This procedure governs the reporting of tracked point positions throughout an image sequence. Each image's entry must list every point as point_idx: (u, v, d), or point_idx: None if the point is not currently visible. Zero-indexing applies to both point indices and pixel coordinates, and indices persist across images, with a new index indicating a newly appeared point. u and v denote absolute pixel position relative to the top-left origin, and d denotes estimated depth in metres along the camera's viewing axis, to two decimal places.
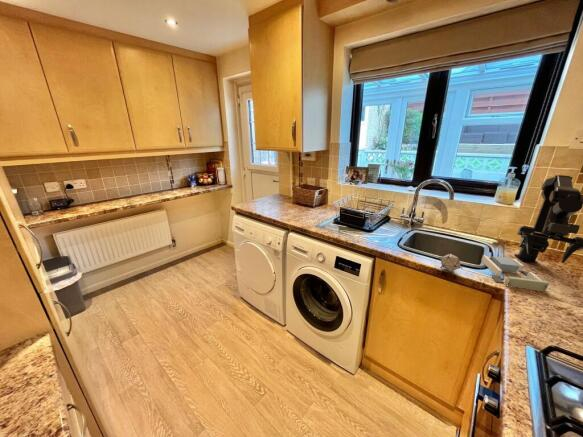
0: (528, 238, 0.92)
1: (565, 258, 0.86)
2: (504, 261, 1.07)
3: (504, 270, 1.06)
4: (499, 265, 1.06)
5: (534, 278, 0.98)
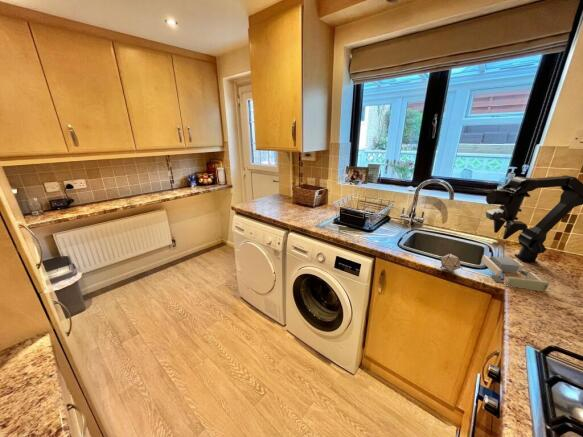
0: (493, 220, 1.16)
1: (503, 236, 1.09)
2: (504, 261, 1.07)
3: (504, 270, 1.06)
4: (499, 265, 1.06)
5: (534, 278, 0.98)
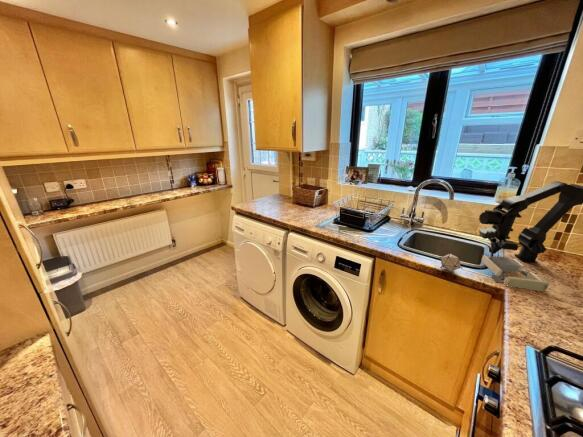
0: (490, 241, 1.17)
1: (492, 250, 1.16)
2: (504, 261, 1.07)
3: (505, 270, 1.06)
4: (500, 265, 1.06)
5: (534, 278, 0.98)
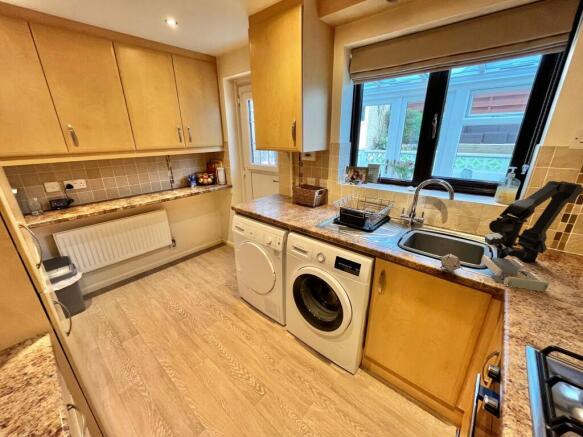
0: (496, 247, 1.12)
1: (498, 257, 1.11)
2: (504, 262, 1.07)
3: (504, 272, 1.05)
4: (499, 267, 1.06)
5: (534, 278, 0.98)
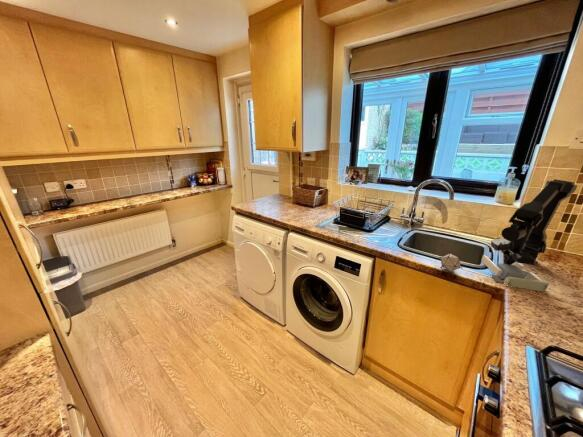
0: (503, 253, 1.07)
1: (505, 263, 1.06)
2: (510, 269, 1.02)
3: None
4: (505, 273, 1.01)
5: (534, 278, 0.98)
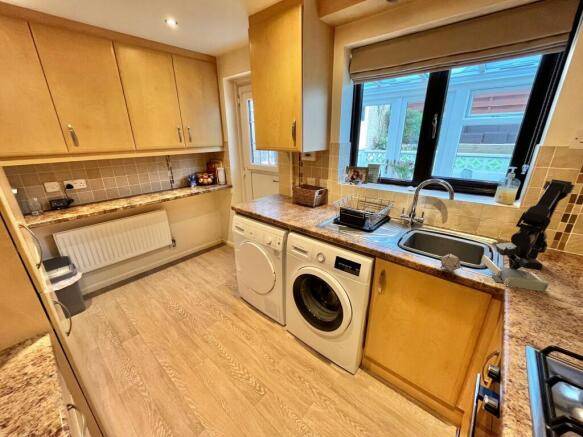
0: None
1: (510, 268, 1.03)
2: (512, 273, 0.99)
3: None
4: (505, 277, 0.98)
5: (534, 278, 0.98)
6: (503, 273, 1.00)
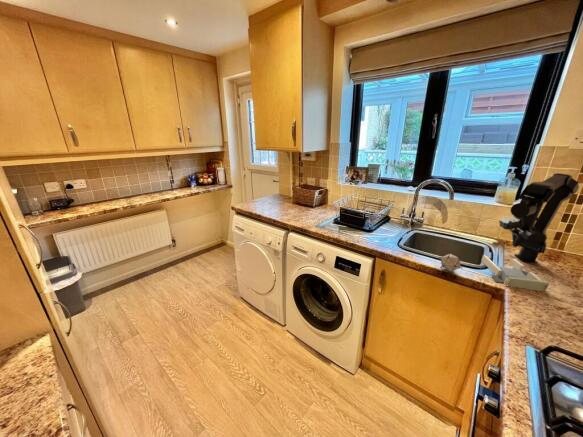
0: (512, 233, 1.04)
1: (514, 243, 1.03)
2: (512, 273, 0.99)
3: None
4: (505, 276, 0.98)
5: (534, 278, 0.98)
6: (503, 273, 1.00)
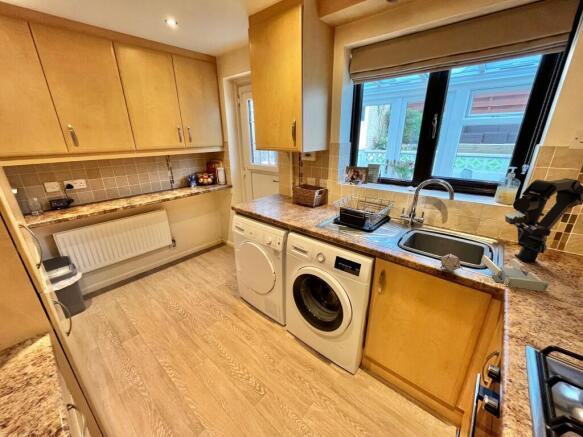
0: (517, 228, 1.08)
1: (519, 238, 1.08)
2: (512, 273, 0.99)
3: None
4: (504, 276, 0.99)
5: (534, 278, 0.98)
6: (503, 273, 1.00)
